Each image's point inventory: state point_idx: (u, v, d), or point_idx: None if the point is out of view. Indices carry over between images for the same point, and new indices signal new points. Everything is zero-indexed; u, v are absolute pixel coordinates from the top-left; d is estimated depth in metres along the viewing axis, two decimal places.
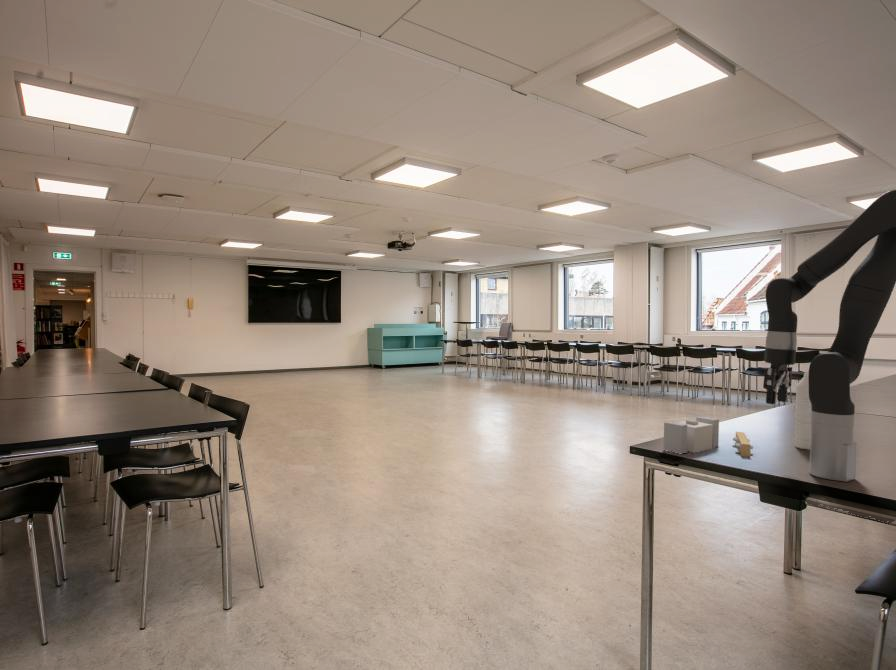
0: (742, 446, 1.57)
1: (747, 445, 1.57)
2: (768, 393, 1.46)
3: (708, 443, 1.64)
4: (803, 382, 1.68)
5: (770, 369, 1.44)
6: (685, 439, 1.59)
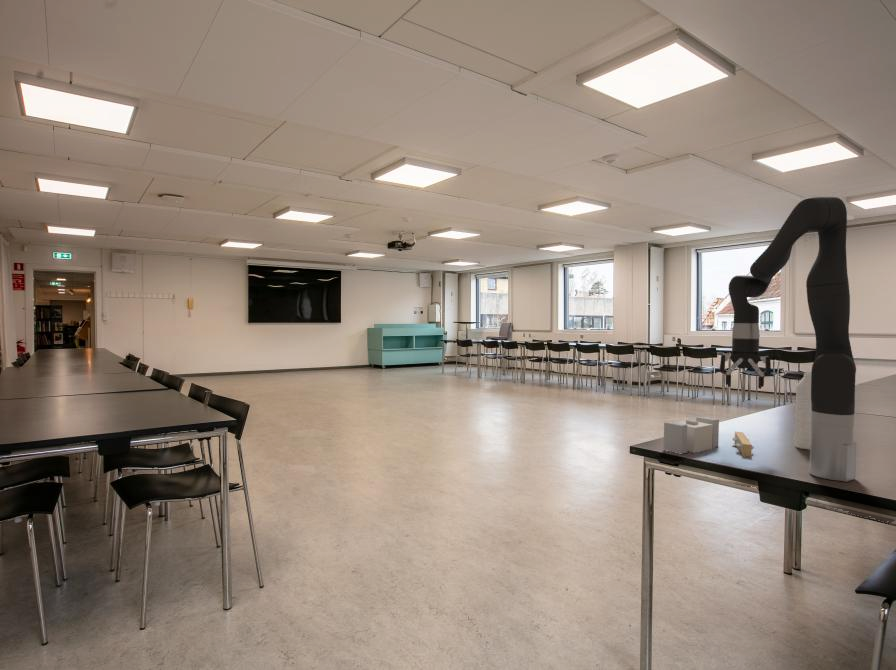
0: (743, 446, 1.57)
1: (748, 445, 1.57)
2: None
3: (708, 443, 1.64)
4: (803, 382, 1.68)
5: (769, 357, 1.62)
6: (685, 439, 1.59)
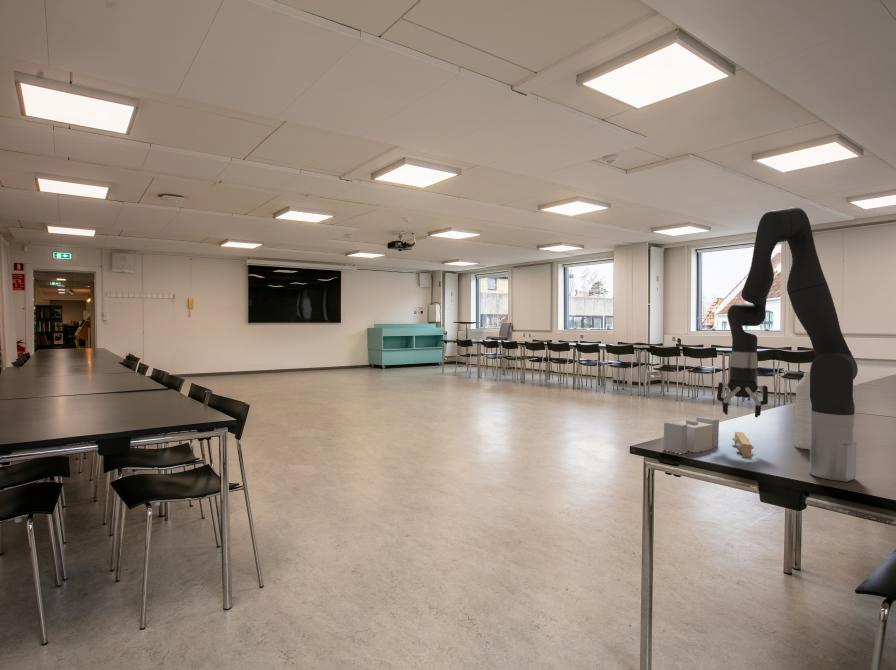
0: (743, 446, 1.57)
1: (748, 445, 1.57)
2: None
3: (708, 443, 1.64)
4: (803, 382, 1.68)
5: (766, 386, 1.63)
6: (685, 439, 1.59)
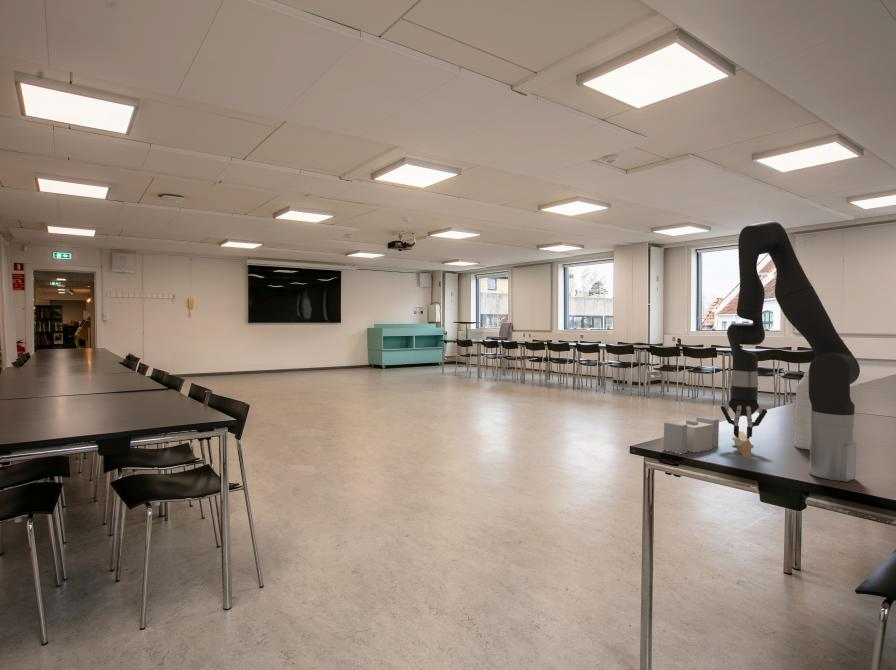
0: (743, 445, 1.57)
1: (748, 444, 1.57)
2: None
3: (708, 443, 1.64)
4: (803, 382, 1.68)
5: None
6: (685, 439, 1.59)
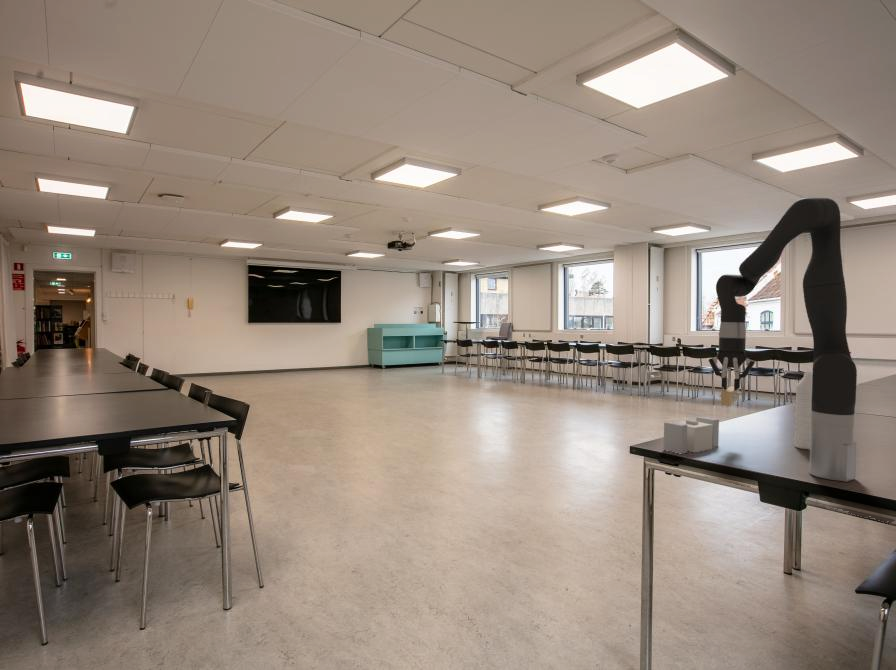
0: (722, 394, 1.58)
1: (726, 393, 1.57)
2: None
3: (708, 443, 1.64)
4: (803, 382, 1.68)
5: (754, 362, 1.62)
6: (685, 439, 1.59)
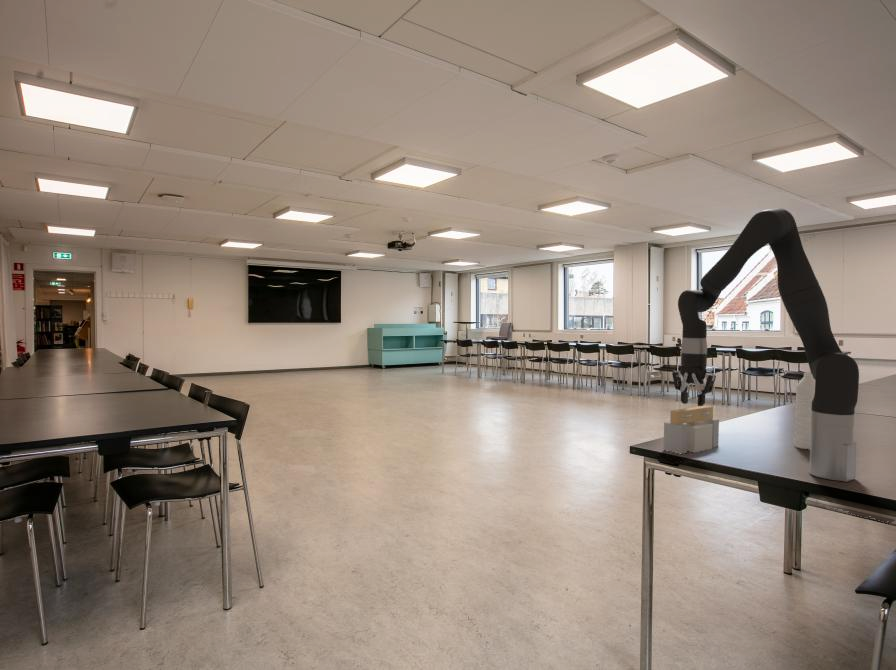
0: (671, 413, 1.61)
1: (675, 412, 1.60)
2: (703, 396, 1.62)
3: (708, 443, 1.64)
4: (803, 382, 1.68)
5: (713, 376, 1.60)
6: (685, 439, 1.59)
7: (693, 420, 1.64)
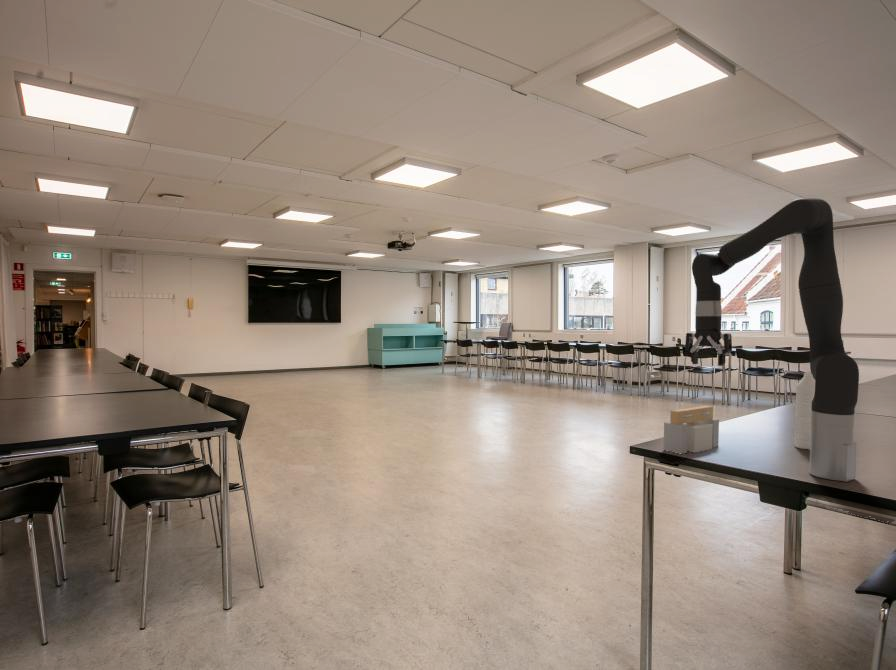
0: (671, 413, 1.61)
1: (675, 412, 1.60)
2: (723, 356, 1.62)
3: (708, 443, 1.64)
4: (803, 381, 1.68)
5: (729, 334, 1.61)
6: (685, 439, 1.59)
7: (693, 420, 1.64)
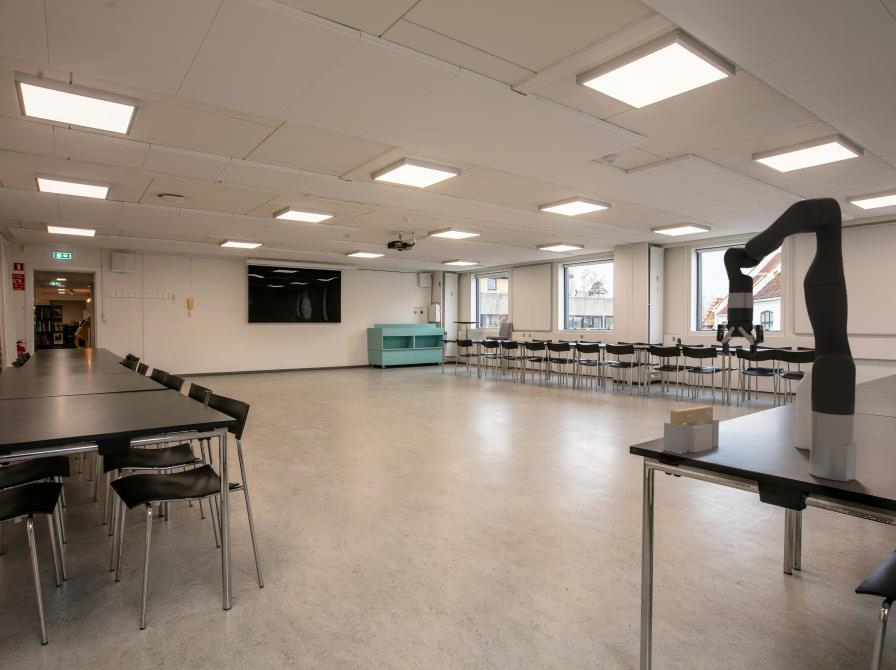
0: (671, 413, 1.61)
1: (675, 412, 1.60)
2: (755, 347, 1.66)
3: (708, 443, 1.64)
4: (803, 382, 1.68)
5: (761, 325, 1.65)
6: (685, 439, 1.59)
7: (693, 420, 1.64)
